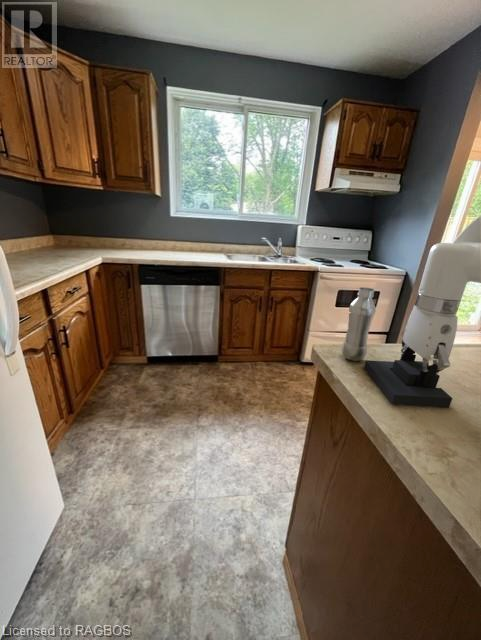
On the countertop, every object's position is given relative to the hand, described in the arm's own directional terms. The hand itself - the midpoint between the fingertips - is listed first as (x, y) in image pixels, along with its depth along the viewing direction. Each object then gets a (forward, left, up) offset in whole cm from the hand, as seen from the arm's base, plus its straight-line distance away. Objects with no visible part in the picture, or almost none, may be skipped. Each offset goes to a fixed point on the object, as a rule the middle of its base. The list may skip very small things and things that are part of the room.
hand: (413, 376), depth 63 cm
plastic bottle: (+9, -13, -3) cm, 16 cm away
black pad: (0, 0, -1) cm, 1 cm away
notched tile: (+2, 0, -3) cm, 3 cm away
